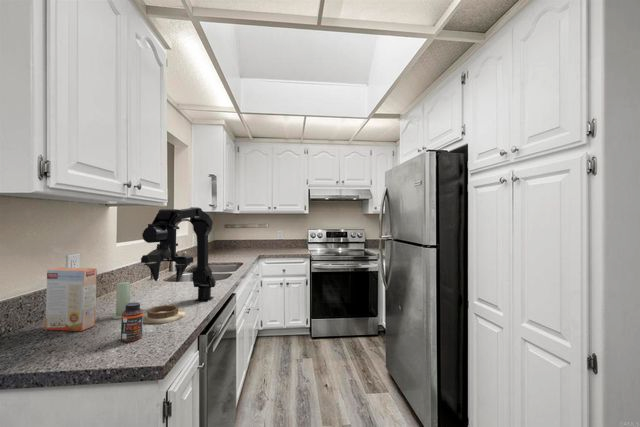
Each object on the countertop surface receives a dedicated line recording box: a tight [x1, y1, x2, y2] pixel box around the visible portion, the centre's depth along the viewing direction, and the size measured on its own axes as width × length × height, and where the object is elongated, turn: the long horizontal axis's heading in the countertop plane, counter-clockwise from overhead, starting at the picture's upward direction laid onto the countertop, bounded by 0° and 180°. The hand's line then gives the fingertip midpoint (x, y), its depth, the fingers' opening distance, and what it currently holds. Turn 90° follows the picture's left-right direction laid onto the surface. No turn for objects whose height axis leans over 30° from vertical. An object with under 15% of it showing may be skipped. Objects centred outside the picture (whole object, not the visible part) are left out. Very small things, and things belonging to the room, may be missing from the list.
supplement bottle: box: [120, 301, 144, 343], centre depth 95 cm, size 6×6×11 cm
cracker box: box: [44, 267, 98, 332], centre depth 104 cm, size 14×6×21 cm, turn 84°
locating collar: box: [143, 304, 186, 325], centre depth 117 cm, size 16×16×3 cm
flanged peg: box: [111, 281, 131, 320], centre depth 117 cm, size 7×7×13 cm
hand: (166, 281), depth 114 cm, fingers open, 9 cm apart
